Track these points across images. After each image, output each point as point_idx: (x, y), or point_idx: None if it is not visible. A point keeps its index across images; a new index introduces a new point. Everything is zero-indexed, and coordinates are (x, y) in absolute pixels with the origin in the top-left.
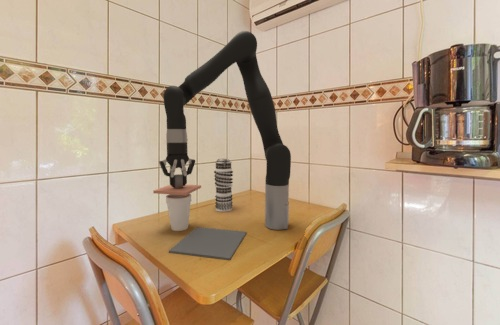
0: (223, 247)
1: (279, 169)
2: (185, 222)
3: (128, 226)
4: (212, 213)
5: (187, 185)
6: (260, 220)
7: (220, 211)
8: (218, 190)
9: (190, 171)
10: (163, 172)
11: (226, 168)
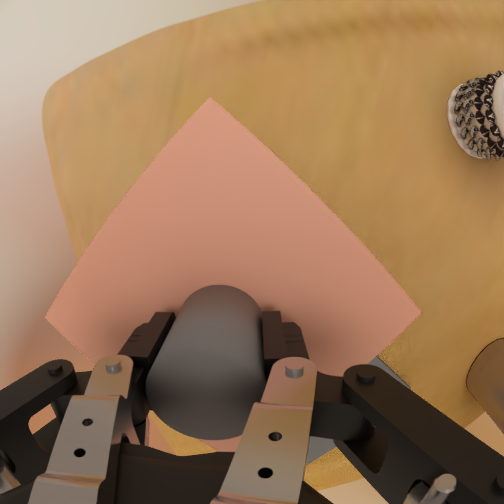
0: None
1: None
2: None
3: (65, 129)
4: (422, 140)
5: (325, 263)
6: (497, 313)
7: (456, 140)
8: None
9: (363, 446)
10: (28, 384)
11: None
